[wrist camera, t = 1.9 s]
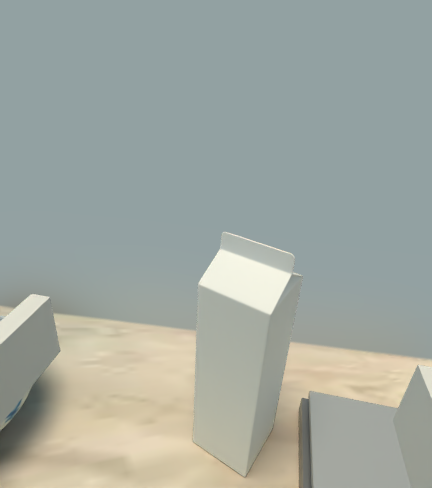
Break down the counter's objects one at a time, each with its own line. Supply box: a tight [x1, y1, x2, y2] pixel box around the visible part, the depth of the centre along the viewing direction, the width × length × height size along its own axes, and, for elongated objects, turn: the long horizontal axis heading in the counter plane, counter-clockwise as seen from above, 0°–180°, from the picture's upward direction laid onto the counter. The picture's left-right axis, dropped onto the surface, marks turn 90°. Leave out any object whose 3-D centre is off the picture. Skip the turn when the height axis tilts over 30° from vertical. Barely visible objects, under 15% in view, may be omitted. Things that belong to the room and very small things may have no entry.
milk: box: [193, 232, 303, 477], centre depth 31 cm, size 6×6×22 cm
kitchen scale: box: [299, 391, 411, 488], centre depth 31 cm, size 15×13×4 cm
